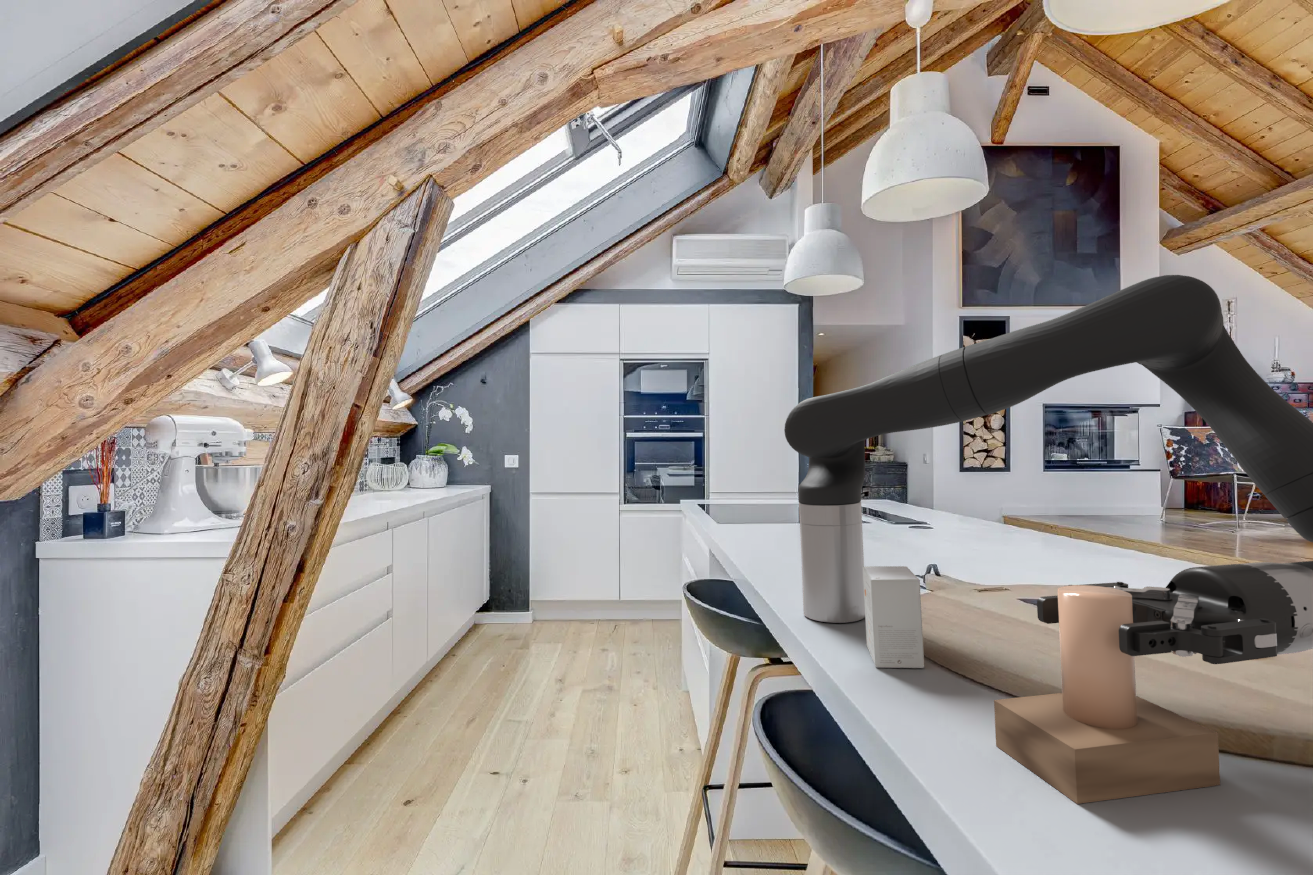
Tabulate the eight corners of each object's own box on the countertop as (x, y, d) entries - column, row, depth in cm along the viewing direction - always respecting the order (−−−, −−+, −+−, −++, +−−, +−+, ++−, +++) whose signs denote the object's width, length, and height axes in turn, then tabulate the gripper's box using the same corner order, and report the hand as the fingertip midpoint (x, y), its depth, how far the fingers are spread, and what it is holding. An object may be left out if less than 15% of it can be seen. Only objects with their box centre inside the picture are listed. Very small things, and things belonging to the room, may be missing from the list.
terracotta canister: (1048, 705, 54) (1043, 587, 54) (1101, 699, 55) (1096, 583, 55) (1096, 731, 49) (1090, 602, 49) (1154, 725, 50) (1148, 597, 50)
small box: (925, 670, 74) (921, 579, 74) (874, 668, 75) (870, 579, 75) (911, 647, 82) (908, 565, 82) (866, 646, 83) (862, 565, 83)
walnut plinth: (996, 745, 56) (993, 699, 56) (1118, 731, 57) (1116, 686, 57) (1077, 803, 47) (1074, 749, 47) (1220, 784, 48) (1217, 732, 48)
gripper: (1170, 550, 61) (1015, 562, 59) (1351, 582, 47) (1155, 599, 45) (1174, 628, 61) (1019, 643, 59) (1355, 684, 47) (1160, 706, 45)
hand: (1078, 624), depth 52 cm, fingers open, 8 cm apart
